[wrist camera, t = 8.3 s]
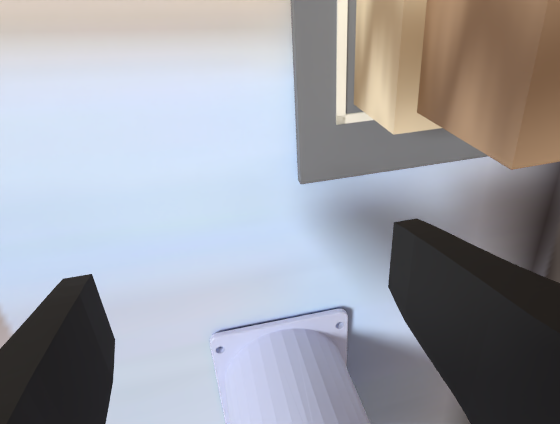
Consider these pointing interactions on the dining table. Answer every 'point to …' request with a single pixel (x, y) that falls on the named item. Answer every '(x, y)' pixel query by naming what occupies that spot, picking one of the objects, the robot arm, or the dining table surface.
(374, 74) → the oak block
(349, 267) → the dining table surface
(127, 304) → the dining table surface
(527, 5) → the walnut block
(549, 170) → the dining table surface
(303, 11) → the mat
